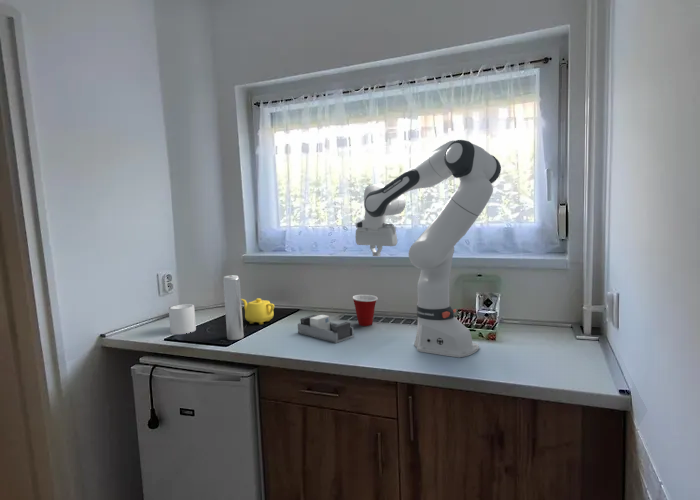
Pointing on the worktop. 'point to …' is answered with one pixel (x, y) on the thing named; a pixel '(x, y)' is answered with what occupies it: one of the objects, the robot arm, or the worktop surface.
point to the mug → (182, 319)
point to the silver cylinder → (233, 307)
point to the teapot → (258, 311)
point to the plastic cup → (365, 308)
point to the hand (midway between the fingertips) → (376, 256)
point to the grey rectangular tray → (334, 335)
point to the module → (320, 322)
